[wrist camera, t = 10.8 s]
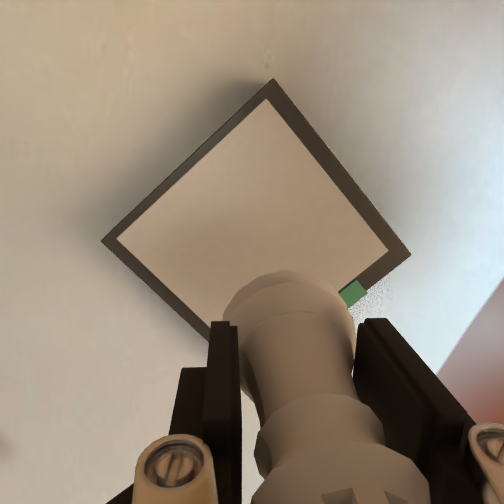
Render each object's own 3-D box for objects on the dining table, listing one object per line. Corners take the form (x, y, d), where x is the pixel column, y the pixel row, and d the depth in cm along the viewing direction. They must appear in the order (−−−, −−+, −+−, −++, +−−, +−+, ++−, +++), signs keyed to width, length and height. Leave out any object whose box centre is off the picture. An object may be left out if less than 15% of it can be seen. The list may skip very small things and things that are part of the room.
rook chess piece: (202, 360, 14) (170, 650, 6) (245, 246, 12) (275, 425, 5) (316, 392, 14) (418, 689, 7) (367, 288, 13) (560, 502, 6)
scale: (395, 244, 25) (416, 257, 22) (249, 361, 27) (251, 388, 24) (268, 83, 22) (274, 76, 19) (112, 230, 24) (96, 244, 21)
